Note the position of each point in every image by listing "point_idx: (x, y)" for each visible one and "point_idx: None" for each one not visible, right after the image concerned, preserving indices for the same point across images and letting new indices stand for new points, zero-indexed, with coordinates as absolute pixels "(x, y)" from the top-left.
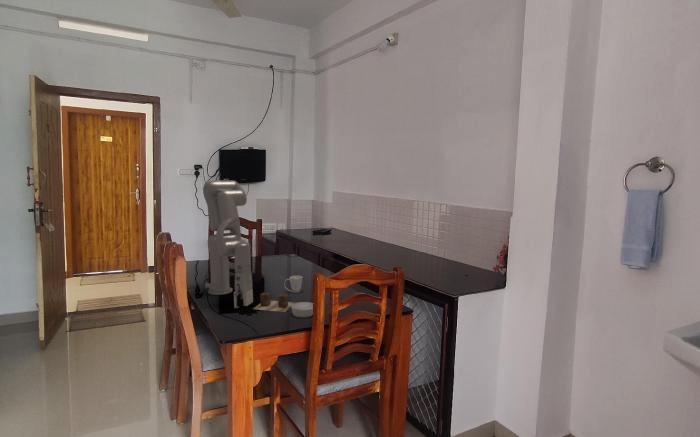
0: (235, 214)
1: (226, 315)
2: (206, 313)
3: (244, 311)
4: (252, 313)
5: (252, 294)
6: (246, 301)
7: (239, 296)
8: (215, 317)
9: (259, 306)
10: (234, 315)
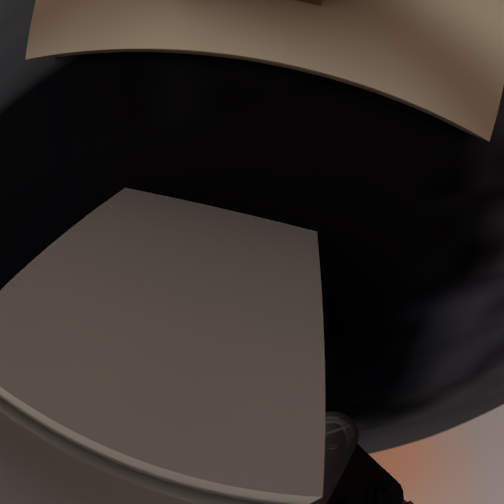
0: None
1: (468, 367)
2: (376, 451)
3: (414, 245)
4: (499, 133)
5: (30, 274)
6: (318, 311)
7: (377, 479)
8: (471, 404)
9: (356, 23)
10: (496, 315)
